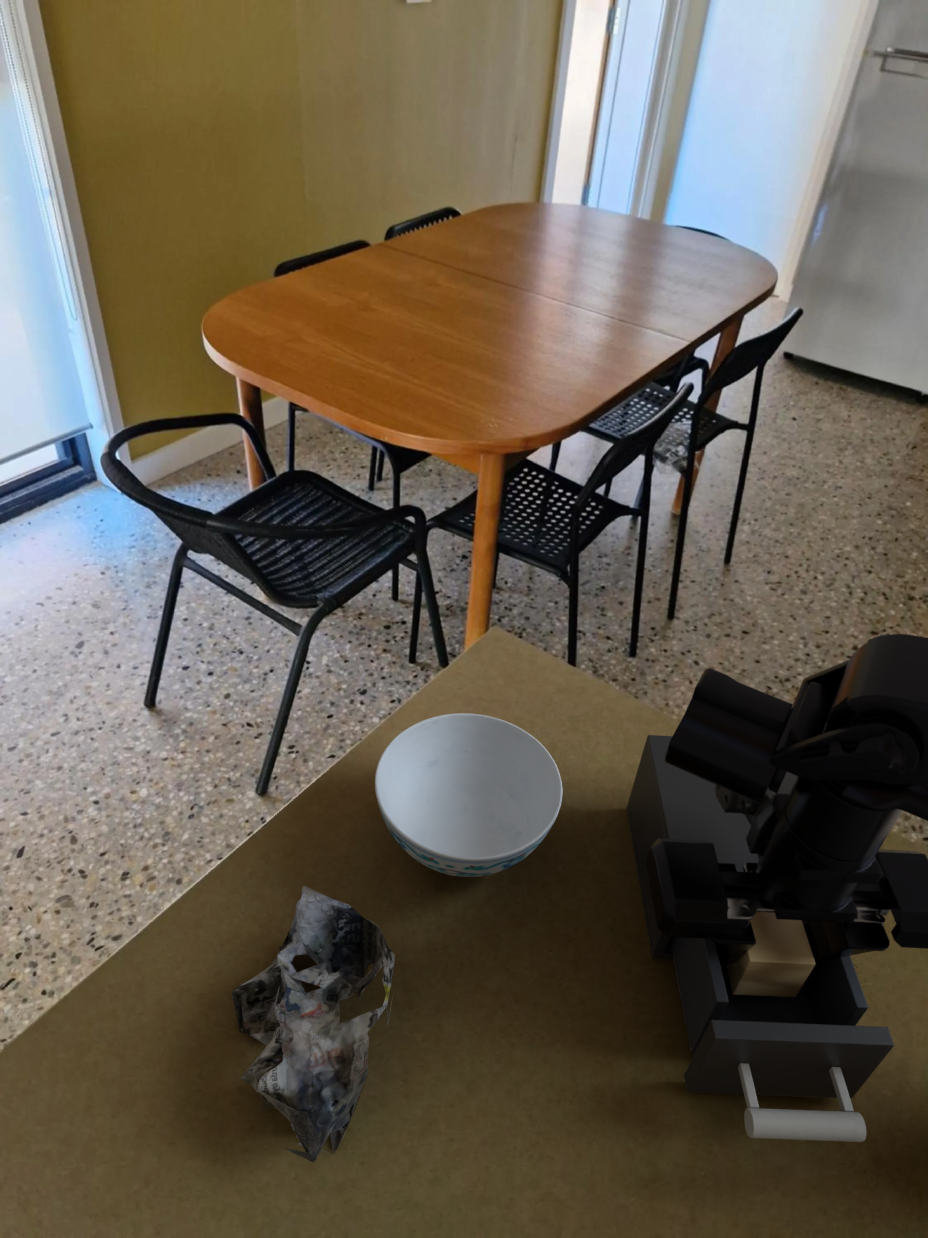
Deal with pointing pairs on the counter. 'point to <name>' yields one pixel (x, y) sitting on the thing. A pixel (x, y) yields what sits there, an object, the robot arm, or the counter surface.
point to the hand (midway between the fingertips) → (760, 959)
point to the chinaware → (467, 793)
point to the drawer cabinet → (678, 823)
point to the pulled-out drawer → (779, 1043)
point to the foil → (314, 1020)
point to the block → (773, 959)
